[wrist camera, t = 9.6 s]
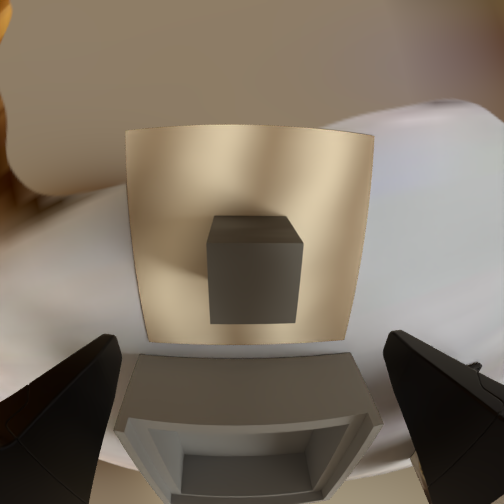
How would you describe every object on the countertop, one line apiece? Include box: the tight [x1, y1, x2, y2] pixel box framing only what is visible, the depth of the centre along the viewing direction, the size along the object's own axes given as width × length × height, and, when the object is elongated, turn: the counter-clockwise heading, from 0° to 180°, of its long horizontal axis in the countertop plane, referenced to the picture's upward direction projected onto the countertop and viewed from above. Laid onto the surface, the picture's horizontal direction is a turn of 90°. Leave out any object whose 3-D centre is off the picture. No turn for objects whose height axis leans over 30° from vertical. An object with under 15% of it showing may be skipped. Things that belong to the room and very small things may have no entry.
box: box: [114, 353, 384, 504], centre depth 19 cm, size 16×15×7 cm
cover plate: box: [125, 125, 374, 345], centre depth 15 cm, size 14×14×5 cm
